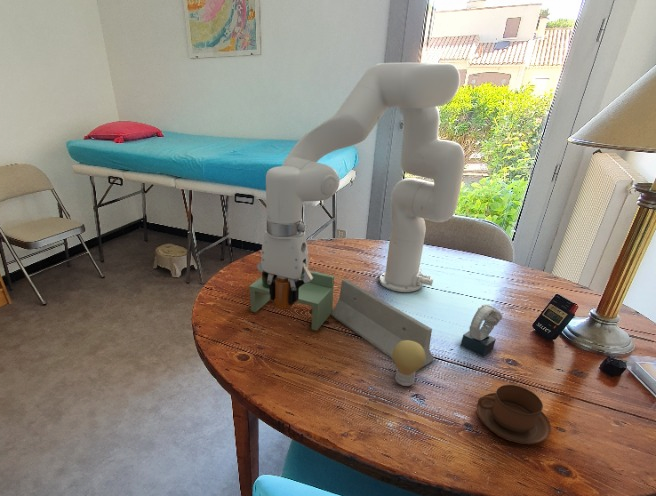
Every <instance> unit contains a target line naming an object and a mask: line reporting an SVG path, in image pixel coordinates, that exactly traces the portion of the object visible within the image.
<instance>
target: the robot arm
mask: <svg viewBox="0 0 656 496" xmlns="http://www.w3.org/2000/svg"><path fill="white" fill-rule="evenodd" d="M460 86H461V73H460V70H459V68H458V67H457V66H456V65H455V64H453V63H452V62H413V61H412V62H409V61H408V62H407V61H406V62H382V63H381V62H379V63H377V64H374V65H372V66H370V67H369V68H368V69H367V70H366V71H365V72H364V74H363V75H362V77H361V78H360V79H359V80H358V82H357V83H356V85H355V86H354V87H353V89H352V90H351V92H350V93H349V95H348V96H347V97H346V98H345V100H344V101H343V103H342V104H341V105H340V107H339V108H338V110H337V111H336V112H335V114H334V115H332V116H331V117H329V118H328V119H325V120H324V121H323V122H321V123H320V124H318V125H317V126H316V127H314V128H313V129H311V130H310V131H308V132H307V133H305V134H304V135H303V136H302V137H300V139H299V140H298V141H297V142H296V143H295V145H294V146H293V147H292V148H291V150H290V151H289V153H288V154H287V156H286V157H285V159H284V160H283V162H282V164H281V165H280V166H274V167H272V168H271V167H270V169H268V170H267V172H266V174H265V201H266V202H265V204H266V205H265V206H266V208H265V209H266V210H265V211H266V230H264V233H263V238H262V242H261V243H262V244H261V253H260V254H261V255H260V256H261V258H260V259H261V260H260V261H259V262H258V264H257V265H256V270H258V271H259V273H261V275H262V274H263V276H264V277H265V278H266V280H267V283H268V284H269V293H270V301H275V278H276V277H278V276H283V277H287V278H289V280H290V285H291V289H290V290H289V305H291V306H292V307H293V305H294V304H295V303H297V302H296V301H297V300H298V298H299V287H301V286H302V285H303V284H306V283H308V282H310V281H312V280H313V276H312V275H311V273H310V271H311V270H310V269H309V249H308V248H309V247H308V240H307V235H306V233H305V232H307V231H308V225H306V224H304V223H303V203H305V202H322V201H326V200H328V199H330V198H331V197H333V196H334V195H335V194H336V193H337V191H338V189H339V186H340V176H339V173H338V172H337V170H336V169H334V167H332V166H330V165H328V164H325V163H321V162H319V160H321V159H322V158H323V157H325V156H327V155H328V154H330V153H333V152H336V151H337V150H341V149H345V148H348V147H352V146H354V145H358V144H361V143H363V142H364V141H365V140H366V139H367V138H368V136H369V135H370V133H371V132H372V131H373V129H374V128H375V127H376V126H377V123H378V122H379V121H380V119H381V118H382V117H383V116H384V114H385V113H386V112H387V110H388V109H389V108H396V109H397V108H399V110H400V111H401V114H402V119H403V127H402V140H401V151H400V168H401V170H402V171H403V172H404V173H406V174H408V175H411V176H416V177H421V178H426V179H431V180H433V182H432V181H428V180H423V179H419V178H412V177H410V178H407V177H406V178H403V179H401V180H399V181H397V182H396V183H395V185H394V186H393V188H392V190H391V198H390V201H391V204H390V205H391V226H390V236H389V243H388V249H387V258H386V265H385V271H384V272H383V273H381V274H380V276H379V279H378V281H379V283H380V285H381V286H383V288H385V289H388V290H390V291H394V292H399V293H412V292H416V291H418V290H420V289H421V288H422V286H423V285H425V286H429V287H433V283H434V279H432V278H431V276H430V275H425V274H423V273H422V269H421V268H420V267H421V261H422V254H423V249H424V243H425V238H426V233H427V229H426V222H425V220H427V221H431V222H435V223H445V222H447V221H449V220H451V218H452V217H453V216H454V214H455V212H456V210H457V208H458V203H459V198H460V193H461V187H462V181H463V177H464V171H465V163H466V155H465V151H464V148H463V146H462V145H461V144H460V143H458V142H456V141H454V140H446V139H440V137H439V131H440V122H441V120H440V119H441V116H440V110H439V107H442V106H445V105H447V104H449V103H450V102H451V101H452V100H453V99H454V98H455V96H456V95H457V93H458V91H459V88H460ZM309 270H310V271H309ZM301 273H302V274H303V276H304V278H302V279H300V277H301Z"/></svg>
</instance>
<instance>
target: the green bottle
mask: <svg viewBox="0 0 656 496" xmlns="http://www.w3.org/2000/svg"><path fill="white" fill-rule="evenodd" d="M261 277H262V286H263V287H265V288H269V284H268V283H267V280H266V278H265V277H264V276H263V274H262V273H261Z"/></svg>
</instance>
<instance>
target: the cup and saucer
mask: <svg viewBox="0 0 656 496" xmlns="http://www.w3.org/2000/svg"><path fill="white" fill-rule="evenodd" d="M543 404H544V403H543V402H542V400H541V398H540V397H539V396H538V395H537V394H536V393H534V392H533V391H531V390H530V389H528V388H525V387H523V386H520V385H515V384H504V385H500V386H499V387H498V388H496V390H495V392H491V393H487V394H485V395H482V396H481V397H479V398H478V400H477V404H476V412H477V416H478V417H479V419H480V421H481V422H482V424H483V425H484V426H485V427H486V428H487V429H489V430H490V431H491V432H493V433H494V434H495V435H497V436H498V437H501V438H503V439H504V440H507V441H510V442H513V443H516V444H522V445H535V444H539V443H542V442H545V441H546V440H547V439H548V438H549V436H550V435H551V432H552V425H551V422H550V420H549V418H548V417H547V415H546V414H545V413H544V412H543V408H544V405H543Z"/></svg>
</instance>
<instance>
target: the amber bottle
mask: <svg viewBox="0 0 656 496" xmlns="http://www.w3.org/2000/svg"><path fill="white" fill-rule="evenodd" d="M290 289H291V285H290V280H289V278H287V277H283V276H278V277H276V278H275V299H274V306H275V307H276V308H277V309H280V310H287V309H290V308H292V307H293V305H292V306H291V305H289V290H290Z"/></svg>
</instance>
